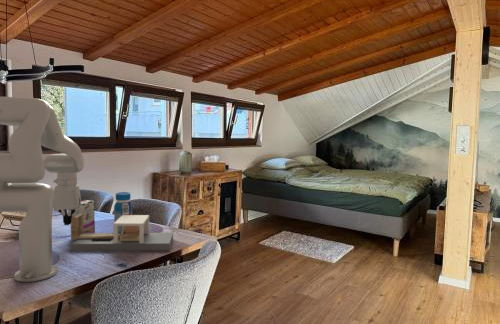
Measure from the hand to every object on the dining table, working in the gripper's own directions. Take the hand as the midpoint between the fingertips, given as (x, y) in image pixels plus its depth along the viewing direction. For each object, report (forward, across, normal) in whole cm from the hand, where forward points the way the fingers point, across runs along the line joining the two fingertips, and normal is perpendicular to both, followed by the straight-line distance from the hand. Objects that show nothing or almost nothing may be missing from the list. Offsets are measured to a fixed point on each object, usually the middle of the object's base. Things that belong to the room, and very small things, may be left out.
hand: (67, 224), depth 149 cm
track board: (+9, +24, 0) cm, 26 cm away
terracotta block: (+5, +27, 0) cm, 28 cm away
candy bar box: (+9, +2, +12) cm, 15 cm away
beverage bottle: (+9, +19, +17) cm, 27 cm away
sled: (+6, +17, 0) cm, 18 cm away
